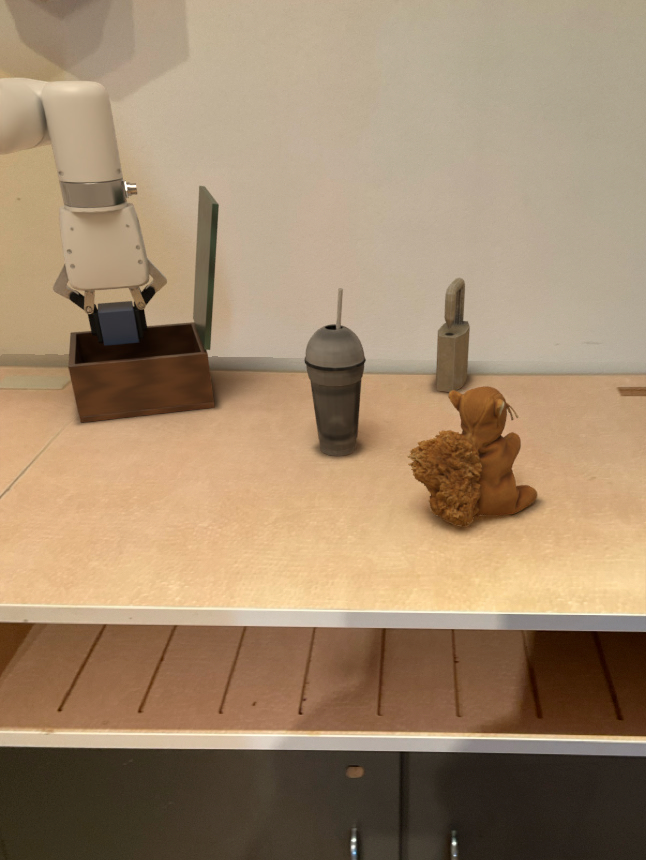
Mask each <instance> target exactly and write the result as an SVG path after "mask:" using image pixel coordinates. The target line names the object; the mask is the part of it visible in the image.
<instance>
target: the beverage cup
mask: <svg viewBox="0 0 646 860" xmlns="http://www.w3.org/2000/svg"><path fill="white" fill-rule="evenodd" d="M343 293H344V289H343V288H338V289H337V304H336V305H337V307H336V322H335V323H332V324H331V323H330V324H327V325H323V326H322V327H319V329H317V330H316V331H315V332H314V333H313V334H312V335H311V337H310V338H309V340H308V342H307V344H306V348H305V356H304V360H303V361H304V364H305V366H306V367H305V368H306V372H307V375H308V379H309V382H310V388H311V389H310V390H311V395H312V402H313V409H314V417H315V423H316V429H317V430H316V431H317V438H318V441H319V448H320V451H321V452H322V453H323V454H325V455H326V456H332V457H343V456H348V455H350V454H353V453H354V452H356V449H357V441H358V435H359V423H360V422H359V421H360V405H361V392H362V379H363V377H364V371H365V364H366V361H367V360H366V357H365V351H364V347H363V344H362V341H361V340H360V338H359V336H358V335H357V334H356V333H355V332H354V331H353V330H352V329H351V328H349V327H347V326H345V325H341V324H342V311H343Z"/></svg>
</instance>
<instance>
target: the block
mask: <svg viewBox="0 0 646 860" xmlns="http://www.w3.org/2000/svg"><path fill="white" fill-rule="evenodd" d="M133 306H134V302H133V301H132V300H127V301H126V300H125V301H114V302H102V303H100V302H99V303H97V309H98V316H99V321H100V326H101V331H102V336H103V341H104V345H105V346H109V345H120V344H131V343H139V338H138V332H137V326H136V321H135V315H134V309H133Z"/></svg>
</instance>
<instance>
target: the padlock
mask: <svg viewBox="0 0 646 860" xmlns="http://www.w3.org/2000/svg"><path fill="white" fill-rule="evenodd" d="M465 296H466V283H465V280H464V279H463V278H462V277H456V278H455V279H454V280H453V281H452V282H451V283H450V284H449V285H448V287H447V288H446V291H445V297H444V316H443V317H444V321H445V322H444V323H442V324H441V326H440V327H439V329H438V330H437V339H436V341H437V343H436V344H437V345H436V366H435V367H436V370H435V371H436V372H435V386H436V391H438V392H444V393H445V392H447V393H450V392H451V391H453V390H455V391H458V390H460V389H461V388H463V386H464V385H465V383H466V382H467V380H468V368H469V367H468V366H469V365H468V364H469V348H470V333H471V332H470V331H471V330H470V329H471V325H470V322H469V320H464V319H465V318H464V317H465V315H464V314H465Z"/></svg>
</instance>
